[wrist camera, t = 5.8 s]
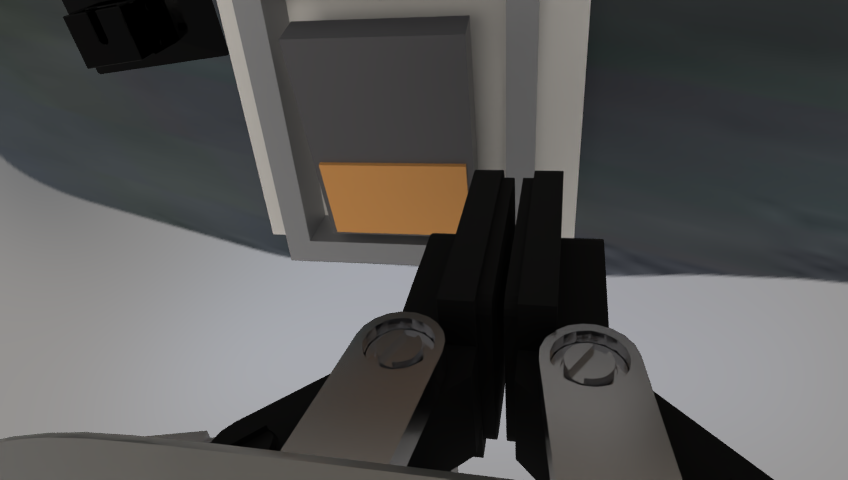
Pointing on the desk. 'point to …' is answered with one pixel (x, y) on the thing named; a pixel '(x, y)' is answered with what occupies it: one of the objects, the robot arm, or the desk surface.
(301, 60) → the rocker
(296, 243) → the switch panel
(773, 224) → the desk surface
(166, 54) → the black slotted block
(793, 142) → the desk surface
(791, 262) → the desk surface
